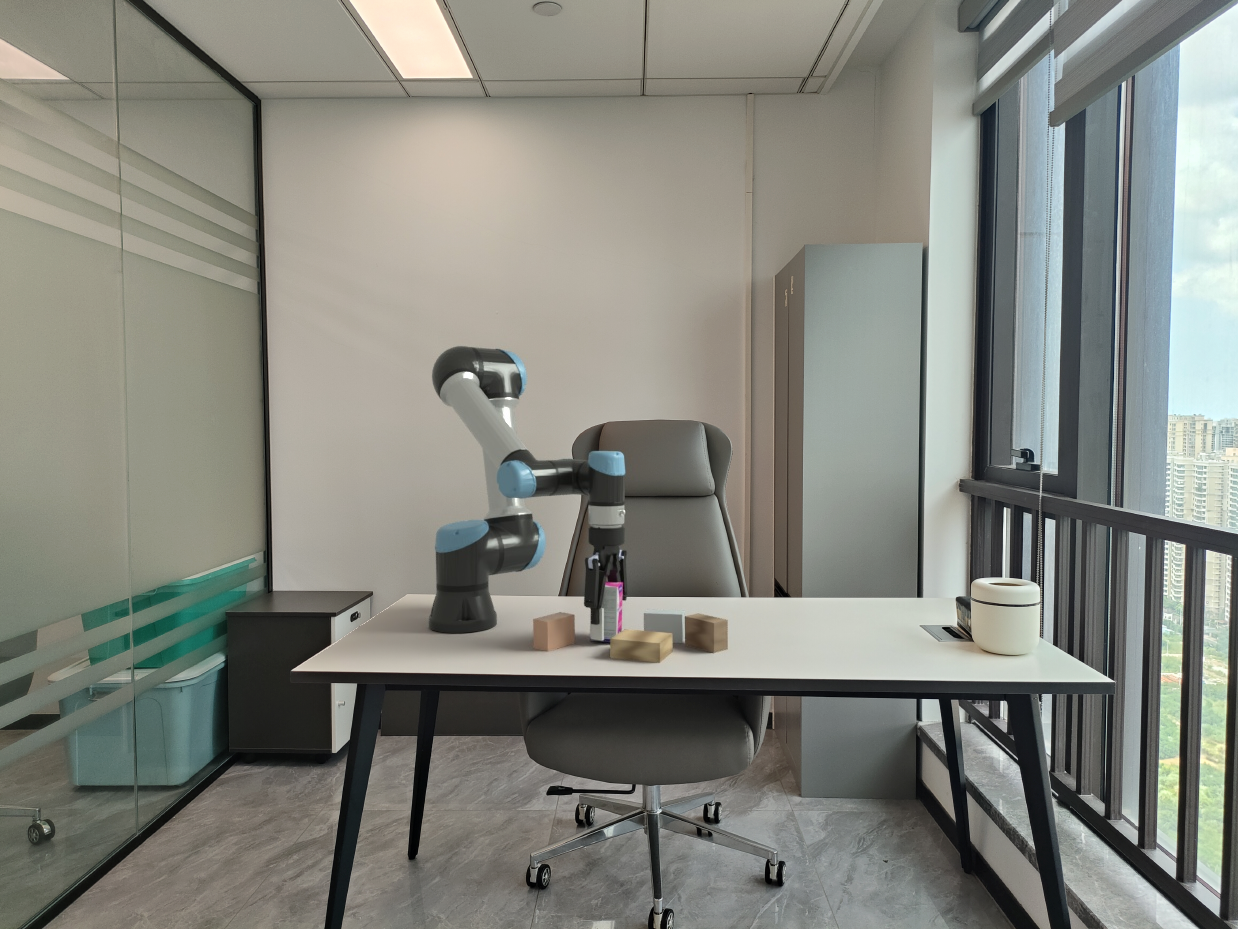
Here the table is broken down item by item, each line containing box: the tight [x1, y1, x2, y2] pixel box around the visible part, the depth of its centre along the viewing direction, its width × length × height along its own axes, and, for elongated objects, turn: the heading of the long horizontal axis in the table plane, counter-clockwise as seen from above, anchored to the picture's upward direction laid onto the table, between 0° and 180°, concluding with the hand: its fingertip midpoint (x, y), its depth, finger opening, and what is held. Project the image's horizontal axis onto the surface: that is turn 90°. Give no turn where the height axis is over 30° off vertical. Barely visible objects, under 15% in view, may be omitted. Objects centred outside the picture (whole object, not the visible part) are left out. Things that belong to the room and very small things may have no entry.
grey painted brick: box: [643, 608, 686, 644], centre depth 163 cm, size 8×4×6 cm, turn 78°
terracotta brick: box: [532, 611, 576, 652], centre depth 159 cm, size 8×4×6 cm, turn 141°
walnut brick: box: [684, 613, 729, 654], centre depth 157 cm, size 8×4×6 cm, turn 41°
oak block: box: [609, 628, 674, 664], centre depth 152 cm, size 10×8×4 cm
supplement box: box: [589, 580, 623, 643], centre depth 162 cm, size 6×6×12 cm
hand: (606, 635), depth 162 cm, fingers closed on supplement box, 7 cm apart
